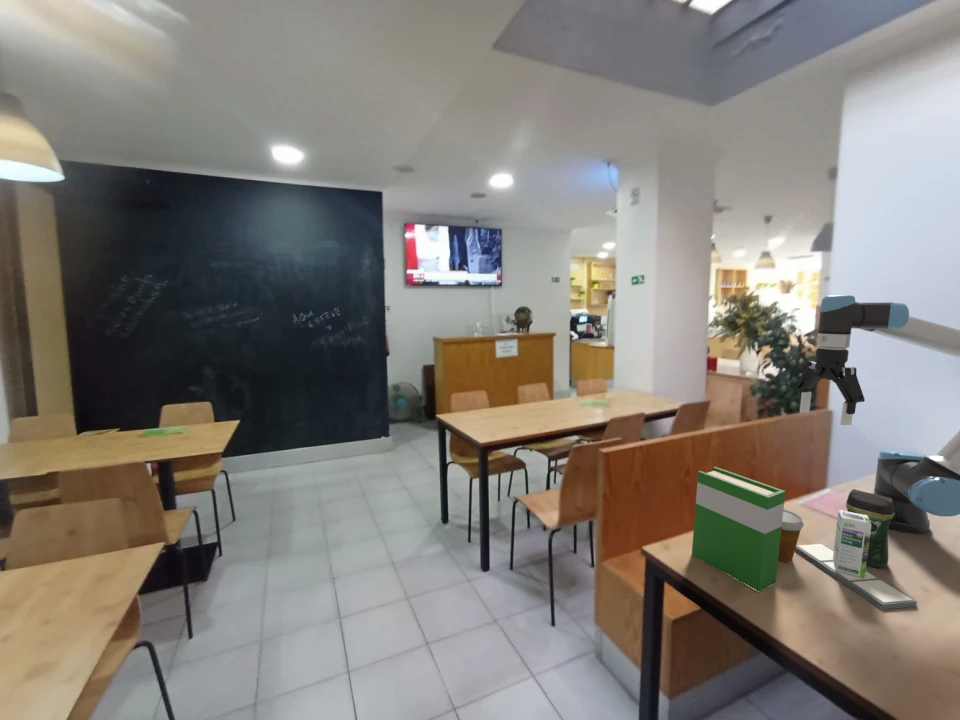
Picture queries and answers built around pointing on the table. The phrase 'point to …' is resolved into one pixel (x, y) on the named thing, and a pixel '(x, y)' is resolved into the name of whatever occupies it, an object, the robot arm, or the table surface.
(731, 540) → the hardback book
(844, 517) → the syrup box
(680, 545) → the table surface
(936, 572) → the table surface
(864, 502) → the coffee jar
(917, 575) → the table surface
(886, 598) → the board
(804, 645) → the table surface
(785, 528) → the disposable coffee cup
